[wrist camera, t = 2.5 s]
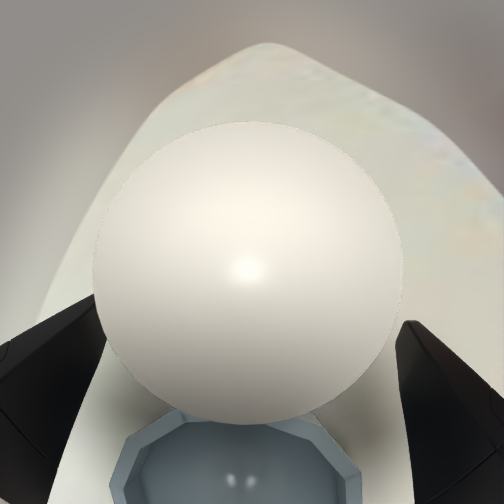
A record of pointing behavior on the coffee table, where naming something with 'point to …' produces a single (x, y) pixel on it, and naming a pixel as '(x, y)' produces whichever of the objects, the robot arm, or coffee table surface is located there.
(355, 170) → the ivory pillar candle
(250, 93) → the coffee table surface
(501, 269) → the coffee table surface
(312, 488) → the slate dish
